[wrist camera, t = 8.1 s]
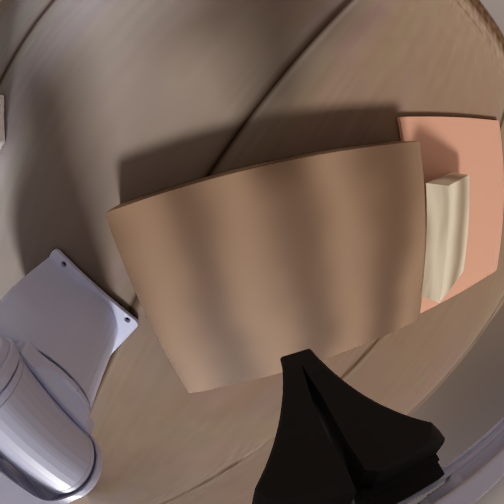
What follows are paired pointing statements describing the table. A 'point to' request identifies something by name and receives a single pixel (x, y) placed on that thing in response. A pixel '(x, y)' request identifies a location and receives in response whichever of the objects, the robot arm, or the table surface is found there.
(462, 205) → the birch tile
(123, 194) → the table surface
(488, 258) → the terracotta mat
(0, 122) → the jar
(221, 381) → the walnut board
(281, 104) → the table surface
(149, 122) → the table surface
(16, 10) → the table surface
